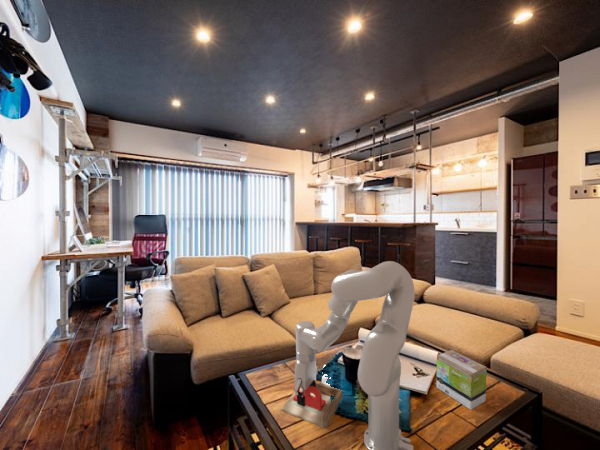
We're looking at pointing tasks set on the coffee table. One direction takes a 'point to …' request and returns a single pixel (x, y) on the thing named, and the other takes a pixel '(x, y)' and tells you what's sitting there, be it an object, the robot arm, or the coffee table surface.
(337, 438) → the coffee table surface
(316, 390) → the bracket
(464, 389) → the tea box
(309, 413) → the tray
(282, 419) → the coffee table surface
